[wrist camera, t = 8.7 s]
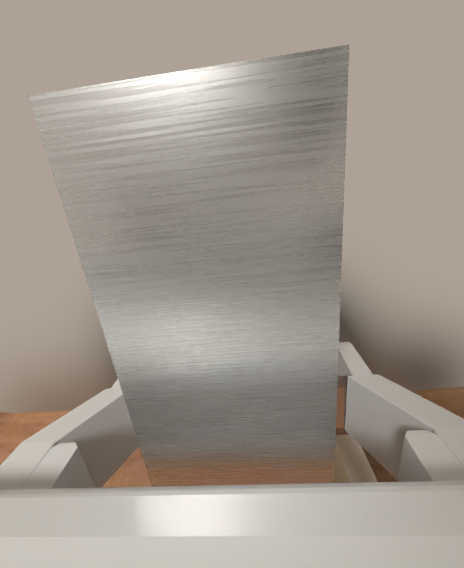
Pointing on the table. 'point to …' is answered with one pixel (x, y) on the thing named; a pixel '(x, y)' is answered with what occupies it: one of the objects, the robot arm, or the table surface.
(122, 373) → the grey rectangular bar
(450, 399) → the table surface
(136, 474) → the table surface
